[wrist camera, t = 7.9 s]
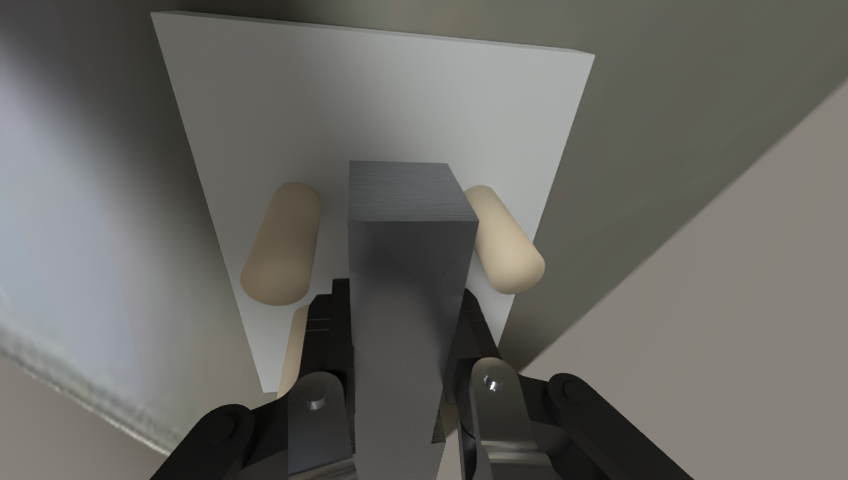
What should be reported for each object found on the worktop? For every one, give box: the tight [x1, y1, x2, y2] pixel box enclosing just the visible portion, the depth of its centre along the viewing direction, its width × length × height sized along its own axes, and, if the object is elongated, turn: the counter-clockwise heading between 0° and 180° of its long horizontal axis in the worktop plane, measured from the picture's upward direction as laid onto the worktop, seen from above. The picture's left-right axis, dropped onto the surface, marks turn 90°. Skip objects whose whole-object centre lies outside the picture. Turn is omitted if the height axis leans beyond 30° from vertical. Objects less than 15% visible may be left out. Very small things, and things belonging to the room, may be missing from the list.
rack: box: [150, 10, 595, 399], centre depth 13 cm, size 16×12×6 cm
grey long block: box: [347, 161, 479, 480], centre depth 12 cm, size 14×4×3 cm, turn 175°
